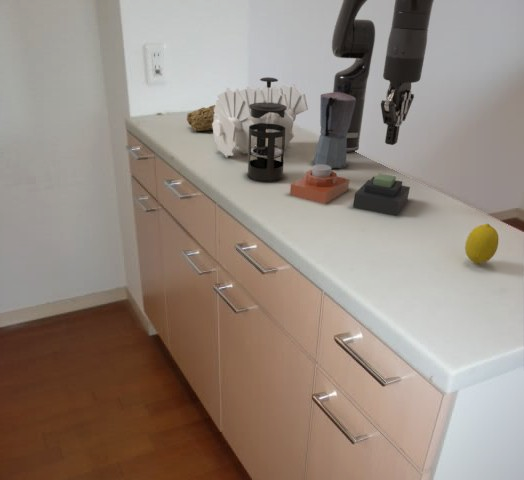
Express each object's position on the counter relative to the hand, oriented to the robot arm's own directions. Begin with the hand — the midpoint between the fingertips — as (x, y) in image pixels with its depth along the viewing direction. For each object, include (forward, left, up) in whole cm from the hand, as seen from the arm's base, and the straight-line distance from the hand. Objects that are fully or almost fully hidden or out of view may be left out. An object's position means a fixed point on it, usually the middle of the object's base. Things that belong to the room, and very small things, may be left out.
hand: (390, 143), depth 120 cm
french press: (0, -32, -14) cm, 35 cm away
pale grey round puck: (+2, -15, -10) cm, 18 cm away
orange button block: (+2, -15, -14) cm, 20 cm away
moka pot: (-19, -23, -14) cm, 33 cm away
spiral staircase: (-16, -46, -14) cm, 51 cm away
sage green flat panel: (0, 0, -9) cm, 9 cm away
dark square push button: (0, 0, -14) cm, 14 cm away
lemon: (+18, +27, -14) cm, 35 cm away
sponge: (-32, -71, -14) cm, 79 cm away
